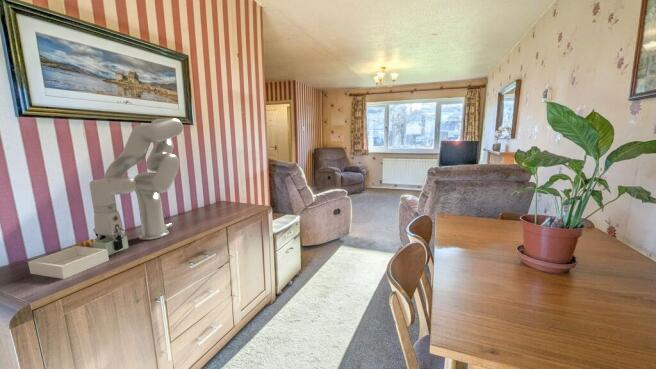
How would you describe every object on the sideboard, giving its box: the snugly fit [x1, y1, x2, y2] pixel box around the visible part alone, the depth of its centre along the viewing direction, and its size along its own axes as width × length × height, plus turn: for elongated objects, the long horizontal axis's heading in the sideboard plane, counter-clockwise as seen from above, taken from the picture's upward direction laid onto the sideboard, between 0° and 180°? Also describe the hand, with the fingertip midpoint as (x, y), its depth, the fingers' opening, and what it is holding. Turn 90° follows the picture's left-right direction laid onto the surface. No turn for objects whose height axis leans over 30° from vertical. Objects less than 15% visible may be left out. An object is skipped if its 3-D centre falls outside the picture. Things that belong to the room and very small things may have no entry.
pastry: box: [69, 238, 97, 248], centre depth 119 cm, size 9×7×4 cm
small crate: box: [93, 235, 130, 257], centre depth 116 cm, size 9×7×6 cm
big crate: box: [27, 246, 110, 280], centre depth 102 cm, size 15×17×4 cm
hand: (111, 248), depth 116 cm, fingers open, 7 cm apart
